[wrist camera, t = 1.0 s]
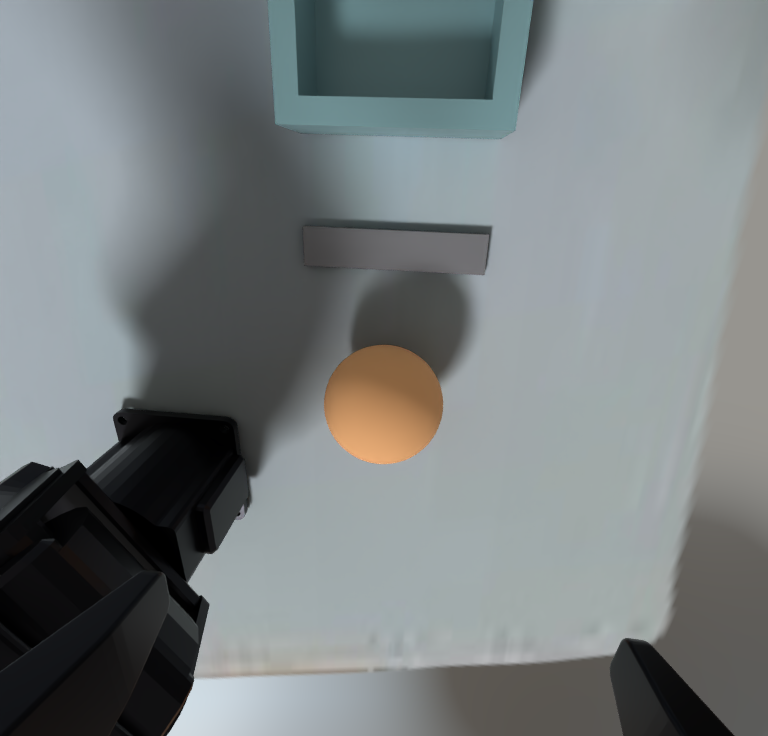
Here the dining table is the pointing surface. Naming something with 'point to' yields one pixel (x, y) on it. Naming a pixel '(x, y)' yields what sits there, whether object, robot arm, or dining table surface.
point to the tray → (399, 66)
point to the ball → (383, 404)
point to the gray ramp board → (395, 249)
